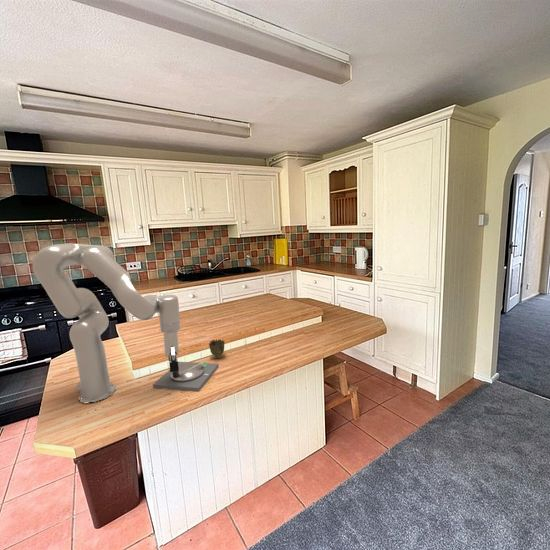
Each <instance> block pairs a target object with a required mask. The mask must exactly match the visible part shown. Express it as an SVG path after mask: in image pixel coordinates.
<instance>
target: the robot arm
mask: <svg viewBox="0 0 550 550" xmlns="http://www.w3.org/2000/svg"><path fill="white" fill-rule="evenodd" d="M114 258H115V255H114V252H113V251H112V250H111V248H109V247H108V246H106V245H101V244H85V243H72V242H70V243H69V242H68V243H57V244H52V245H48V246H45V247H43V248H41V249H40V250H39V251H38V252H37V253H36V254H35V256H34V258H33V261H32V271H33V273H34V276H35V277H36V279H37V280H38V282H39V283H40V284H41V286H42V288H43V289H44V290H45V292H46V294H47V295H48V297H49V299H50V300H51V302H52V303H53V305H54V306H55V308H56V310H57V311H58V313H59V315H61V316H62V317H64V318H65V319H73V318H77V317H78V318H79V319H78V320H76V321H75V322H74V323H72V326H71V327H70V330H69V333H68V334H69V340H70V342H71V345H72V347H73V349H74V354H75V359H76V363H77V369H78V375H79V379H80V381H78V383H77V385H76V386H75V390H76V391H80V392H79V395H78V396H77V399H78V401H79V400H80V401H82V402H94V403H97V402H96V401H98V402H100V401H99V400H101V401H103V400H102V399H104V400H105V398H106V399H107V398H109V397H110V395H111V396H112V395H113V394H114V393H115V392H116V385H115V384H114V383H112V382H111V381H110V380H111V379H110V376H109V375H110V373H109V368H108V367H109V366H108V360H107V355H106V348H105V345H104V343H103V341H102V338H101V335H102V334H103V333H104V332H105V331H106V330H107V328H108V327H109V322H110V320H109V317H108V315H107V313H106V311H105V310H104V308H103V306H102V304H101V302H100V301H99V299H98V298H97V296H96V295H95V293H93V291H91V290H90V289H88V288H85V287H77V286H76V285H75V284H74V282H73V280H72V278H71V277H70V276H69V275H68V274H67V273H65V272H64V268H66V267H71V266H84V268H86V269H87V270H88V271H89V272H90V273H92V274H93V275H94V276H95V277H96V278H98V279H99V280H100V281H101V282H102V283H104V285H105V286H107V288H109V289H110V290H111V293H112V295H113V296H114V297H115V298H116V300H117V302H118V303H119V305H120V306H121V307H123V308H124V309H125V310H126V311H127V312H128V313H130V314H131V315H132V316H133V317H134V318H136V319H138V320H140V321H148V320H150V319H152V318H153V317H154V316H155V315H156V313H158V315H159V325H160V327H159V328H160V332H161V333H163V346H164V354H165V357H166V358H167V357H168V362H169V363H168V364H169V370H170V372H174V371H178V370H179V368H178V362H179V360H178V355H179V335H178V333H179V332H178V331H180V330H181V318H180V306H179V304H180V303H179V298H178V296H177V295H175V294H165V295H157V294H148V295H144V296H143V295H142V294H141V293H140V292H138V290H137V289H136V288H135V287H134V284H133V283H132V279H131V276H130V273H129V272H128V271H127V270H126V269H125V268H124V267H123V266H121V264H119V263H118V262H117V261H116V260H115V259H114ZM81 398H82V399H81ZM80 401H79V402H80Z"/></svg>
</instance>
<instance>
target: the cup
mask: <svg viewBox="0 0 550 550" xmlns="http://www.w3.org/2000/svg"><path fill="white" fill-rule="evenodd" d="M208 345H209V350H210V353H211V355H212V356H213V357H214V358H215V359H218V360H219V359H221V358H222V356H223V354H224V352H225V340H224V339H215V340H214V339H213V340H211V341H209V342H208Z"/></svg>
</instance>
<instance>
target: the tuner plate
mask: <svg viewBox="0 0 550 550" xmlns="http://www.w3.org/2000/svg"><path fill="white" fill-rule="evenodd" d="M188 363H198V364H199V363H200V362H191V361H178V366H180V365H183V364H188ZM201 365H203V367H204V373H203V374H202V375H201V376H200V377H198V378H196V379H193V380H190V381H184V382H178V381H174V380H172V379H171V377H170V373H171V372H170V369H168V370H167V371H166V372H164V374H163V375H162V376H161V377H159V378H158V379H157V381H155V382H154V383H153V384H152V388H153V389H159V390H174V391H175V390H176V391H187V392H200V391H201V390H202V389H203V388H204V386H205V385H206V383H207V382H208V381H209V380H210V378H211V377H212V376H213V375H214V373H215V372H216V371H217V370H218V368H220V367H219V363H210V362H209V363H208V362H204V363H202V364H201ZM212 374H213V375H212Z"/></svg>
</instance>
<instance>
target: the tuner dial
mask: <svg viewBox="0 0 550 550" xmlns="http://www.w3.org/2000/svg"><path fill="white" fill-rule="evenodd" d="M198 363H199V364H198ZM202 363H206V361H205V360H204V361H201V362H196V363H188V364H183V365H180V366H178V368H179V370H178V371H174V372H171V373H170V377H171V379H172V380H174V381H178V382H184V381H190V380H193V379H196V378H198V377H200V376H201V375H202V374H203V373H204V367H203V365H201V364H202Z"/></svg>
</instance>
